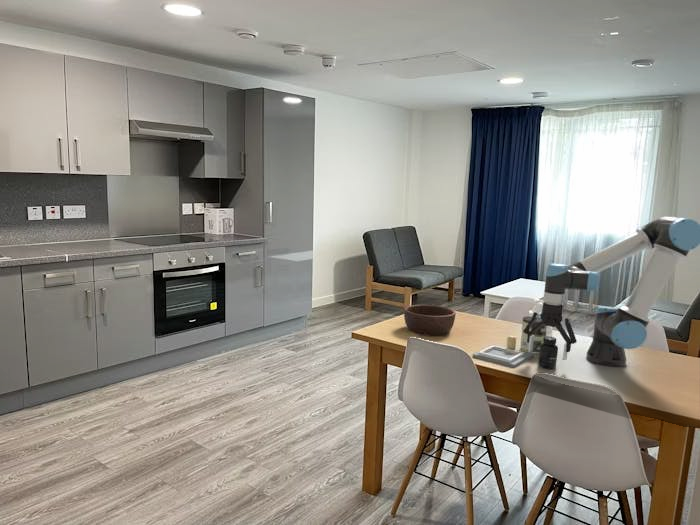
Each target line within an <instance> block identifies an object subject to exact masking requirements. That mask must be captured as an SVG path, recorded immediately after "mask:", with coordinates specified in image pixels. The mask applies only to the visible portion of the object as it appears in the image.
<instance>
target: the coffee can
mask: <svg viewBox="0 0 700 525" xmlns="http://www.w3.org/2000/svg"><path fill="white" fill-rule="evenodd" d="M531 319H532V317H530V316H529V315H528V316H524V317H522V328H521V337H520V338H521V339H520V340H521V341H520V348H519V349H520V351H523V352H524V351H525V352H527V353H532V354H534V355H535V354H537V355H539V350H540V345H541V344H542V343H544V342H543V338H544V337H545V336H546V329H547V326H546V325H545V324H544V325H542V326H541V327H540V328H539V329H538V330H536V331H535V332H534V333H533V334H532V335H534V342H533V351H531V352H528V349H529V343H527V337H528V335H527V334H526V333H524V332H523V331H524V329H525V328H526V326H527V325H528V323H529V322H530V320H531ZM541 321H542V319H541V318H540V317H539V318H537V319H536V321H535V322H534V324H533V325H532V327H531V328H530V330H529V331H531V330H532V329H533V328H534V327H535V326H537V325H538V324H539V323H540V322H541Z"/></svg>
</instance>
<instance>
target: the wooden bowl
mask: <svg viewBox="0 0 700 525" xmlns="http://www.w3.org/2000/svg"><path fill="white" fill-rule="evenodd" d="M456 315H457V314H456V311H455V310H454V309H452V308H448V307H446V306H440V305H435V304H414V305H413V304H412V305H408V306H406V307H404V308H403V317H404V322H405V326H406V328H407V330H409V331H410V332H411V333H414V334H417V335H422V336H431V337H432V336H433V337H435V336H445V335H448V334H449V333H450V332H451V331H452V329H453V327H454V324H455V319H456Z"/></svg>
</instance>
